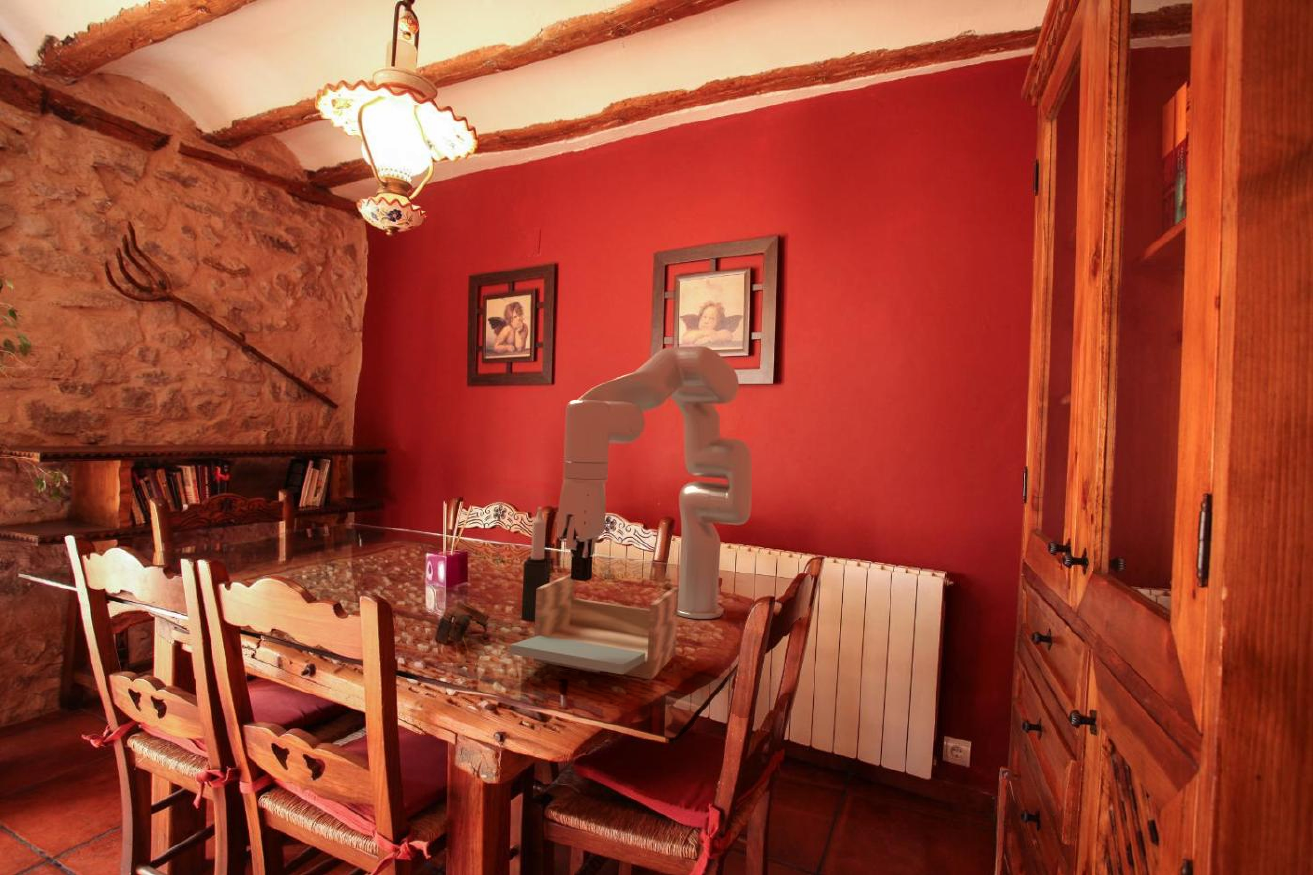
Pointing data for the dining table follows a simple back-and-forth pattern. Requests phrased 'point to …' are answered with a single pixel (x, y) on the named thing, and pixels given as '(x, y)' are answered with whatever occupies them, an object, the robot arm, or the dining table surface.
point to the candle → (535, 568)
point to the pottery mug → (459, 622)
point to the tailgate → (578, 654)
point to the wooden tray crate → (610, 624)
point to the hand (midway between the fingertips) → (581, 579)
